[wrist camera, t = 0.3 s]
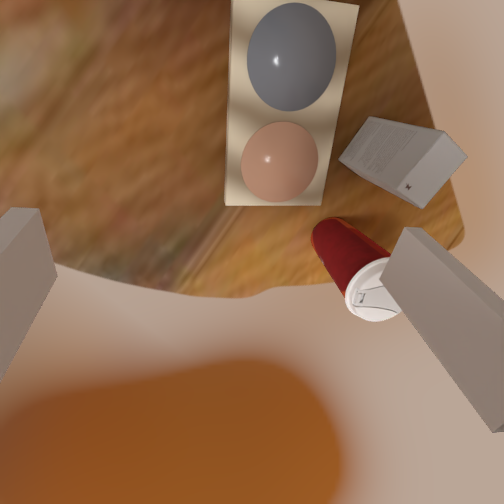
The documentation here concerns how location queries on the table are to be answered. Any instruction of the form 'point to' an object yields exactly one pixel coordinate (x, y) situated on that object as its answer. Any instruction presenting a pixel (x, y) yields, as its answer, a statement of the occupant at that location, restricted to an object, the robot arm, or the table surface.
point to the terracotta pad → (279, 161)
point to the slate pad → (291, 57)
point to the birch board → (261, 114)
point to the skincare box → (403, 158)
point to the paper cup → (355, 268)
